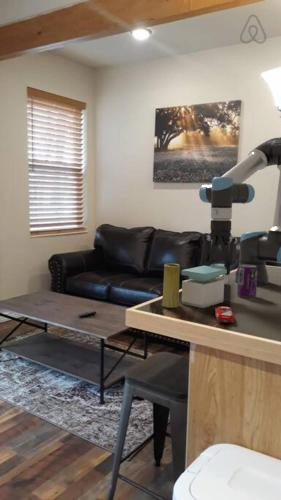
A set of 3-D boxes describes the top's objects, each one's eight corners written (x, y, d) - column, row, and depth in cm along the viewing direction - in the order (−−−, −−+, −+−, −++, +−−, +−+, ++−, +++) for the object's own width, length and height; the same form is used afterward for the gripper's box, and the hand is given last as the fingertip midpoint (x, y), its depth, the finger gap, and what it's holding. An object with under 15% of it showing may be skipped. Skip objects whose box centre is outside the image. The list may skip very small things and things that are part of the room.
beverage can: (256, 299, 152) (258, 267, 151) (237, 297, 154) (238, 266, 152) (255, 295, 159) (257, 264, 158) (236, 293, 160) (238, 263, 159)
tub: (202, 297, 153) (203, 276, 152) (223, 301, 147) (224, 280, 146) (181, 303, 143) (182, 281, 142) (202, 308, 137) (203, 284, 136)
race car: (214, 313, 133) (215, 301, 132) (231, 314, 132) (232, 302, 131) (215, 324, 120) (216, 311, 119) (234, 326, 119) (234, 312, 118)
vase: (181, 304, 141) (182, 264, 140) (177, 308, 136) (178, 266, 134) (164, 302, 143) (165, 262, 142) (159, 307, 138) (160, 265, 136)
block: (212, 271, 157) (212, 262, 156) (235, 274, 150) (235, 265, 150) (181, 278, 142) (181, 269, 142) (204, 282, 136) (205, 272, 135)
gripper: (195, 219, 152) (193, 280, 155) (237, 221, 140) (234, 287, 143) (206, 218, 157) (204, 277, 160) (247, 220, 146) (245, 284, 149)
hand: (218, 282), depth 152 cm, fingers closed on block, 4 cm apart
